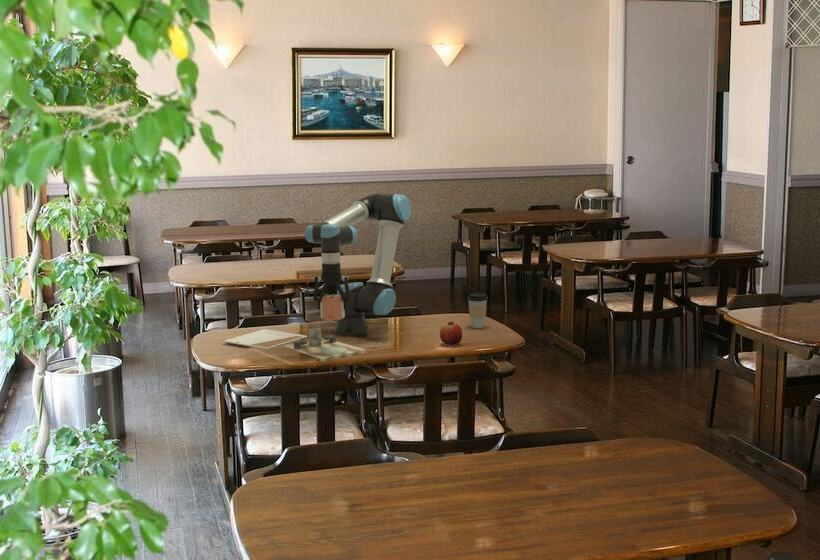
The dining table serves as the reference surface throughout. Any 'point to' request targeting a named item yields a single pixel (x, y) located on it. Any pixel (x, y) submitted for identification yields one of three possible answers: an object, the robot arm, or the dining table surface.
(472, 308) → the coffee cup
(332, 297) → the pink cylinder
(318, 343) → the lock station
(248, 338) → the plate
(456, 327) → the fruit
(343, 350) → the coaster
